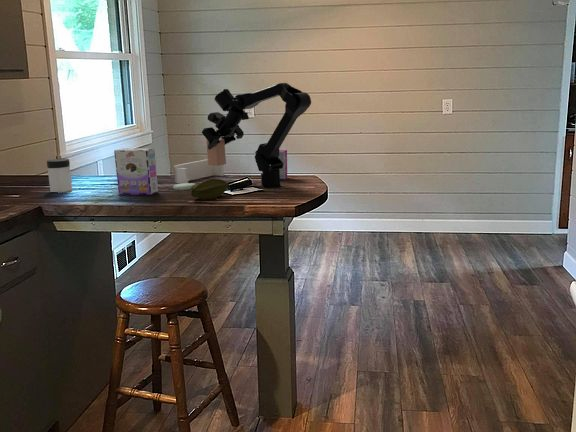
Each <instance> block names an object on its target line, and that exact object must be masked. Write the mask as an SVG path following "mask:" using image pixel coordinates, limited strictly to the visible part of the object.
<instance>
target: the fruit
mask: <svg viewBox="0 0 576 432" xmlns="http://www.w3.org/2000/svg"><path fill="white" fill-rule="evenodd" d="M229 184H230V183H229V182H227V181H225V180H223V179H221V178H211V179H207V180H205V181H202V182H198V183H195V185H193V186H192V187H190V190H189V191H190V192H191V197H192V198H195V199H199V200H202V201H207V200H206V199H209V200H212V198H213V199H215V198H217V197H220V196H221V195H223V194H224V193H225V192H226V191H227V189H228V187H229Z"/></svg>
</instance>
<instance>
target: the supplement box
mask: <svg viewBox="0 0 576 432" xmlns="http://www.w3.org/2000/svg"><path fill="white" fill-rule="evenodd" d="M279 159H280V160H281V161H282V162H283V168H282V169H279V170H280V181H285V180H286V179H288V149H279Z"/></svg>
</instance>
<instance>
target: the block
mask: <svg viewBox="0 0 576 432" xmlns="http://www.w3.org/2000/svg"><path fill="white" fill-rule="evenodd" d="M219 141H220V143H219V144H217V145H216V146H215V147H213V148H212V149H210V150H209V149H208V144H209V141H208V140H207V139H206V153H207V154H206V155H207V159H208V165H213V166H219V165H224V166H225V165H227V161H226V160H227V159H226V158H227V157H226V147H225V142H224V139H221V138H220V139H219Z"/></svg>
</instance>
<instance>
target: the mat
mask: <svg viewBox="0 0 576 432" xmlns="http://www.w3.org/2000/svg"><path fill="white" fill-rule="evenodd" d="M195 184H196V183H194V182H188V183H182V184H180V183H175V184H174V185H173V186H172V187H173V188H172V189H174V190H176V191H186V190H189V191H190V187H192V186H193V185H195Z"/></svg>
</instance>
